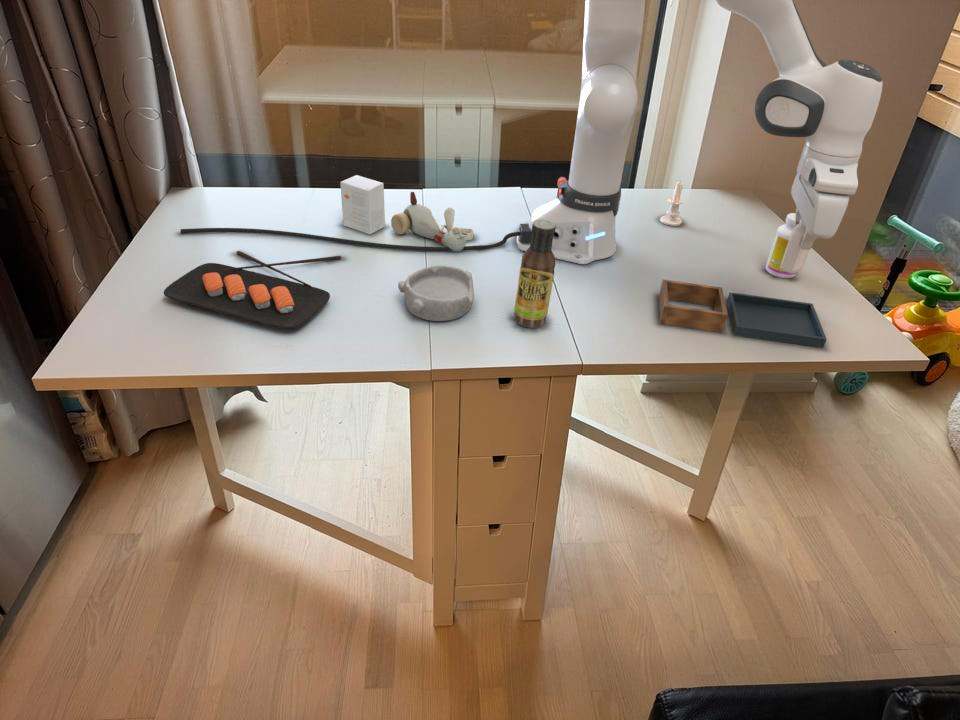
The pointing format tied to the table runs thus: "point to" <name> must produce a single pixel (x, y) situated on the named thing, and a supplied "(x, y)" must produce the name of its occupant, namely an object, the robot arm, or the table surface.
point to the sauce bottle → (536, 276)
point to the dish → (438, 292)
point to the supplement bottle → (780, 248)
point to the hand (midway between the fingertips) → (801, 239)
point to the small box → (363, 204)
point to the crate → (692, 315)
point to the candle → (673, 208)
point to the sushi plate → (251, 293)
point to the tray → (775, 320)
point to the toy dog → (430, 225)
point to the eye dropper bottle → (795, 251)
